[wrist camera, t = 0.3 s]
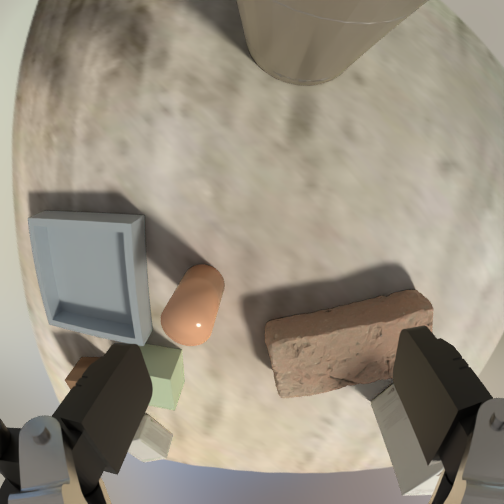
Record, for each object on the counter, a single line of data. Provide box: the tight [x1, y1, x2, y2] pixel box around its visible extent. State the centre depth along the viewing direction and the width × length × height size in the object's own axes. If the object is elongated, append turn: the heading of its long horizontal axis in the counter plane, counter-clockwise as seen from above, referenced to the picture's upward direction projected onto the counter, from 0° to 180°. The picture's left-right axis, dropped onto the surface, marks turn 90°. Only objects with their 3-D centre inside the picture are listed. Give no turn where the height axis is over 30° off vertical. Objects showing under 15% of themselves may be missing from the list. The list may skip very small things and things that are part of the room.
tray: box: [28, 211, 153, 346], centre depth 27 cm, size 13×13×3 cm
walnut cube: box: [65, 357, 100, 389], centre depth 32 cm, size 5×5×5 cm
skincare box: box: [371, 383, 444, 495], centre depth 26 cm, size 8×6×15 cm
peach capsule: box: [161, 264, 225, 346], centre depth 25 cm, size 4×4×7 cm
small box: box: [128, 415, 173, 462], centre depth 36 cm, size 6×6×5 cm
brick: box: [265, 290, 433, 398], centre depth 28 cm, size 17×8×5 cm, turn 103°
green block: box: [139, 344, 185, 410], centre depth 30 cm, size 5×5×5 cm
